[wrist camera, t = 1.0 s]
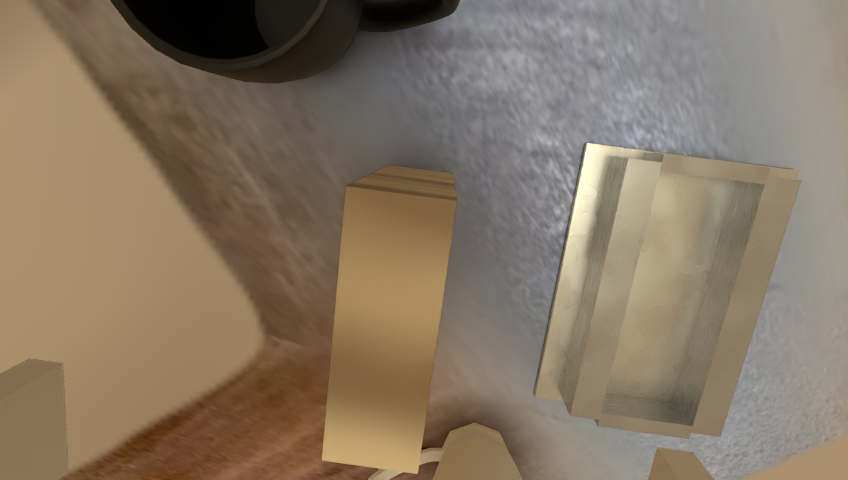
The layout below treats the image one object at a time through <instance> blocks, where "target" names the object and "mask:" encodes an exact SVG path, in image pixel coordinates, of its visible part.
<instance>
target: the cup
mask: <svg viewBox="0 0 848 480" xmlns="http://www.w3.org/2000/svg"><path fill="white" fill-rule="evenodd" d="M431 461H439V465H438V467H437V469H436V472H435V475H434V477H433V480H522V478H521V475H520V473H519V471H518V469H517V466H516V464H515V462H514V461H513V459H512V457H511V456H510V454H509V452H508V449H507V447H506V445H505V443H504V440H503V438H502V436H501V434H500V432H499V431H496V430H493V429H491V428H488V427H485V426H483V425H480V424H478V423H472V424H469V425H466V426H463V427H460V428H457V429H455V430H452V431H450V432H449V434H448V436H447V438H446V440H445V442H444V444H443V447H442V448H428V449H424V450H421V455H420V462H419V465H421V464H425V463H428V462H431ZM400 473H402V472H400V471H393V470H386V469H380V470H378V471H377V472H375V473H374V474H373V475H371V476H370V478H369V479H368V480H389V479H390V478H392V477H394V476H396V475H398V474H400Z"/></svg>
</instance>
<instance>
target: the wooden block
mask: <svg viewBox="0 0 848 480" xmlns="http://www.w3.org/2000/svg"><path fill="white" fill-rule="evenodd" d="M456 206H457V197H456V191H455V185H454V180H453V174H452V173H446V172H439V171H431V170H423V169H416V168H408V167H401V166H393V165H388V166H386V167H384V168H382V169H380V170H378V171H376V172H374V173H372V174H370V175H368V176H366V177H364V178H362V179H360V180H358V181H356V182H353V183H351V184H349V185H347V186H346V191H345V202H344V214H343V225H342V237H341V248H340V260H339V271H338V282H337V294H336V305H335V317H334V328H333V340H332V351H331V363H330V374H329V386H328V397H327V409H326V420H325V431H324V443H323V454H322V460H324V461H331V462H338V463H344V464H351V465H358V466H365V467H372V468H379V469H386V470H393V471H400V472H407V473H414V474H418V468H419V462H420V455H421V448H422V441H423V434H424V427H425V420H426V413H427V406H428V399H429V392H430V385H431V379H432V372H433V365H434V358H435V351H436V344H437V337H438V330H439V323H440V316H441V309H442V302H443V295H444V289H445V282H446V275H447V268H448V261H449V254H450V247H451V240H452V233H453V226H454V219H455V212H456Z"/></svg>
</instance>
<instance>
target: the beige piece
mask: <svg viewBox="0 0 848 480" xmlns="http://www.w3.org/2000/svg"><path fill="white" fill-rule="evenodd" d="M798 172H799V170H791V169H783V168H776V167H768V166H760V165H753V164H745V163H737V162H729V161H722V160H714V159H706V158H699V157H691V156H683V155H675V154H668V153H660V152H652V151H645V150H637V149H629V148H622V147H614V146H606V145H598V144H591V143H585V146H584V151H583V156H582V160H581V165H580V170H579V175H578V180H577V185H576V190H575V195H574V200H573V205H572V210H571V214H570V219H569V224H568V229H567V234H566V239H565V244H564V249H563V254H562V259H561V264H560V268H559V273H558V278H557V283H556V288H555V293H554V298H553V303H552V308H551V313H550V318H549V322H548V327H547V332H546V337H545V342H544V347H543V352H542V357H541V362H540V367H539V372H538V376H537V381H536V386H535V391H534V395H535V398H542V399H549V400H557V401H564V403H565V405H566V408H567V410H568V412H569V414H570V416H577V417H584V418H591V419H594V420H595V422H596V424H597V426H601V427H608V428H615V429H622V430H629V431H636V432H643V433H650V434H658V435H665V436H672V437H679V438H686V439H689V437H690V434H691V433H698V434H705V435H712V436H719V437H720V436H721V433H722V430H723V426H724V423H725V420H726V417H727V414H728V411H729V407H730V404H731V401H732V398H733V395H734V392H735V388H736V385H737V382H738V379H739V376H740V373H741V370H742V366H743V363H744V360H745V357H746V354H747V351H748V347H749V344H750V341H751V338H752V335H753V332H754V328H755V325H756V322H757V319H758V316H759V313H760V310H761V306H762V303H763V300H764V297H765V294H766V291H767V287H768V284H769V281H770V278H771V275H772V272H773V269H774V265H775V262H776V259H777V256H778V253H779V250H780V246H781V243H782V240H783V237H784V234H785V231H786V227H787V224H788V221H789V218H790V215H791V212H792V209H793V205H794V202H795V199H796V196H797V193H798V190H799V186H800V183H801V180H796V179H797V175H798Z"/></svg>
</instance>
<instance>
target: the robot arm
mask: <svg viewBox="0 0 848 480" xmlns="http://www.w3.org/2000/svg"><path fill="white" fill-rule="evenodd" d="M68 470H69V466H68V446H67V428H66V409H65V390H64V370H63V363H58V362H51V361H44V360H36V359H28V360H26V361H24V362H22V363H20V364H18V365H16V366H14V367H12V368H10V369H8V370H6V371H5V372H3V373H1V374H0V480H58V479H59V478H60V477H62V476H63V475H64V474H65V473H66V472H67V471H68ZM648 480H714V478H713V477H712V476H711V475H710V473H709V472H708V471H707V470H706V468H705V467H704V466H703V465H702V463H701V462H700V461H699V459H698V458H697V457H696V456H695V454H694V453H693V452H687V451H680V450H673V449H666V448H659V447H657V450H656V454H655V457H654V461H653V465H652V468H651V472H650V476H649V479H648Z"/></svg>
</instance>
